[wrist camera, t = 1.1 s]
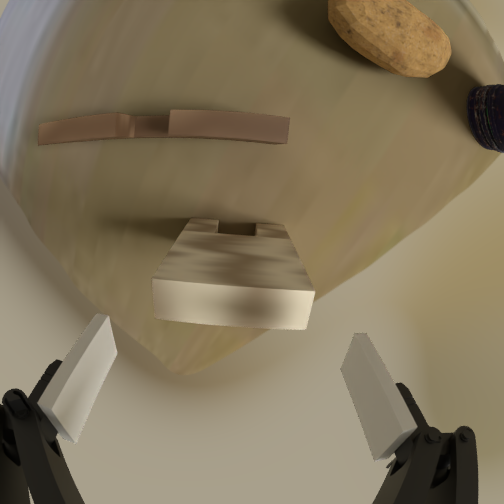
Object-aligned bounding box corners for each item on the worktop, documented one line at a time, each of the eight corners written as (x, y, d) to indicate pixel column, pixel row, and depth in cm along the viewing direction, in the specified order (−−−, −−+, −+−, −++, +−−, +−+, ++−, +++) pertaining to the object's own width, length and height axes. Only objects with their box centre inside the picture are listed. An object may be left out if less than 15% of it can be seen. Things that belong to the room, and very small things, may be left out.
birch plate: (190, 244, 30) (155, 318, 17) (191, 217, 29) (151, 278, 16) (280, 251, 30) (305, 329, 18) (283, 225, 29) (315, 291, 16)
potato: (320, -9, 19) (341, -43, 11) (422, 37, 20) (460, 22, 13) (307, 52, 22) (329, 25, 15) (417, 98, 24) (459, 92, 16)
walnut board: (81, 124, 24) (39, 124, 16) (276, 125, 25) (289, 117, 18) (80, 141, 25) (37, 145, 17) (274, 144, 26) (286, 143, 19)
